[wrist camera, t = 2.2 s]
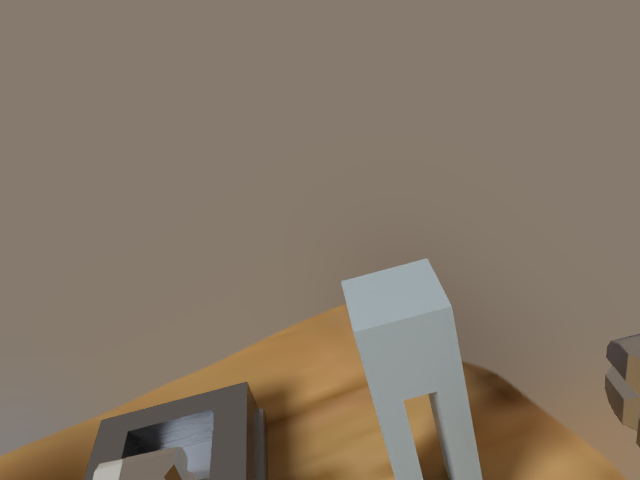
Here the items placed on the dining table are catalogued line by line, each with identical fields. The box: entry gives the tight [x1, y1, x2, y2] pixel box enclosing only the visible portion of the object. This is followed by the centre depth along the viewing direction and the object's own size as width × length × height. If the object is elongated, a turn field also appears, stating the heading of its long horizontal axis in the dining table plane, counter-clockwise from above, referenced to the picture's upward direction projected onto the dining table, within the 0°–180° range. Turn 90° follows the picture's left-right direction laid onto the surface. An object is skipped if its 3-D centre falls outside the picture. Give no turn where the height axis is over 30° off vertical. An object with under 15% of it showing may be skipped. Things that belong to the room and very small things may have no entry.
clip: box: [341, 259, 483, 480], centre depth 28 cm, size 4×4×13 cm
